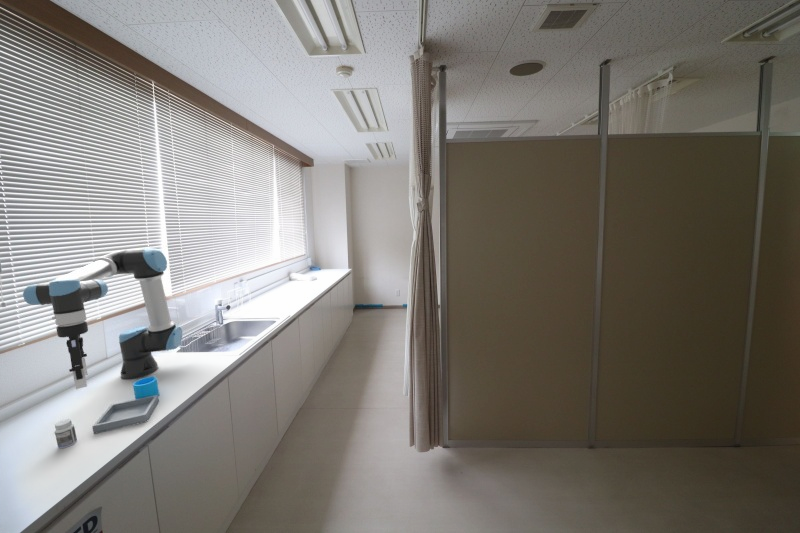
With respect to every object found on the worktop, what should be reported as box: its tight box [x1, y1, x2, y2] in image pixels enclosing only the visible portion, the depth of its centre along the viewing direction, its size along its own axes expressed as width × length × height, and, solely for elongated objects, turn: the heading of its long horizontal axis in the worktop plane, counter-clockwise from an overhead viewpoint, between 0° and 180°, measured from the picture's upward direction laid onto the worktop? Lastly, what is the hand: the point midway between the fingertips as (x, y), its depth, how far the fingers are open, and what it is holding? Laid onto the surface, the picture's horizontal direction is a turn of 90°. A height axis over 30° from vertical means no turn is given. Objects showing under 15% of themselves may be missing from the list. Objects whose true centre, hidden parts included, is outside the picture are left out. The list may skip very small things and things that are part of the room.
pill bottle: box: [54, 418, 78, 449], centre depth 112 cm, size 5×5×8 cm
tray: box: [92, 395, 160, 435], centre depth 128 cm, size 16×16×3 cm
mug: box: [132, 376, 160, 400], centre depth 142 cm, size 12×8×8 cm
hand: (82, 381), depth 114 cm, fingers open, 13 cm apart
